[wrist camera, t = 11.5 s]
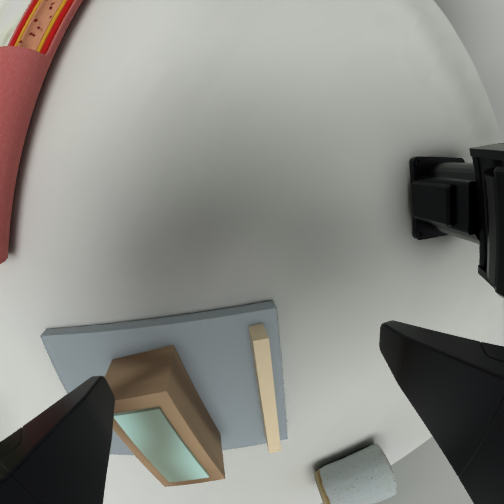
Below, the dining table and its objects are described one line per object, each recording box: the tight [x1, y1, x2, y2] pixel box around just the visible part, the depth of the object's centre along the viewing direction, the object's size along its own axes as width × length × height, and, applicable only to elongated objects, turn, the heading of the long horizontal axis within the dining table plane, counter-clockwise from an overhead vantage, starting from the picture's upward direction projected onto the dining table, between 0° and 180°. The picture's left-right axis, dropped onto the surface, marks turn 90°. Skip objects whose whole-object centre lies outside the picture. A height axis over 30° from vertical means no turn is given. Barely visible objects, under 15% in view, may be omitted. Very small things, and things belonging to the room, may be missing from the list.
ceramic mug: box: [315, 444, 397, 504], centre depth 25 cm, size 11×8×8 cm
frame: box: [105, 345, 225, 487], centre depth 18 cm, size 5×10×5 cm, turn 15°
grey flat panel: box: [41, 301, 288, 455], centre depth 20 cm, size 18×14×3 cm
